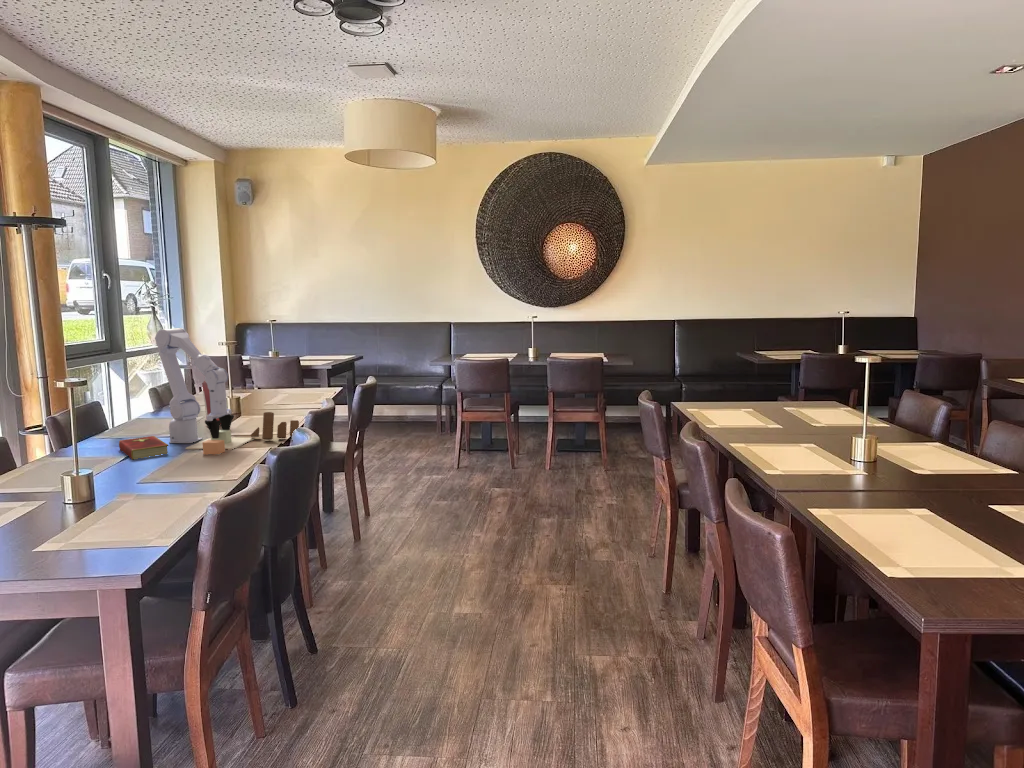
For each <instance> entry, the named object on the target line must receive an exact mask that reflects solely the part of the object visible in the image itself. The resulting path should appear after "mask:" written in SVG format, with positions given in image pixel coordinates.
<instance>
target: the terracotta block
mask: <svg viewBox="0 0 1024 768" xmlns="http://www.w3.org/2000/svg"><path fill="white" fill-rule="evenodd" d="M222 452H224V453H226V450H225V444H224V440H207V441H205V442H203V450H202V453H203V455H208V454H220V453H222ZM222 454H223V453H222ZM220 455H221V454H220Z"/></svg>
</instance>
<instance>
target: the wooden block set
mask: <svg viewBox="0 0 1024 768" xmlns="http://www.w3.org/2000/svg"><path fill="white" fill-rule="evenodd" d="M274 417H275V413H274V412H272V411H266V412H263V417H262V437H261V438H262V440H264V441H265V440H266V441H269V440H270V441H271V440H273V439H274V437H273V436H274V422H275V420H274ZM289 423H290V427H289V437H291V436H292V433H293V431H294V430H295V429H297V428H298V427H300V421H299V420H296V419H295V420H293V419H292V420H290V421H289ZM287 425H288V424H287V422H286V421H282V422H280V423H279V424H277V434H276V435H277V436H276V438H277V439H287ZM249 437H250V438H258V437H260V427H257V428H256V429H255V430H254V431H253V432H251V434H250V435H249Z"/></svg>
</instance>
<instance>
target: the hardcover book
mask: <svg viewBox="0 0 1024 768" xmlns="http://www.w3.org/2000/svg"><path fill="white" fill-rule="evenodd" d="M118 446H119V450H120V451H121V452H122V451H123V452H122V453H124V454H125V456H127V455H128V456H129V457H128V456H127V457H128V458H129V459H131V460H132V461H134V460H139V459H138V458H141V459H145V458H144V457H147V458H150V457H149V456H154V457H156V456H155V455H160V456H162V455H161V454H167V453H168V447H169V444H168V443H166V442H165V441H163V440H162V439H160V438H159V437H157V436H155V435H151V436H143V437H136V438H127V439H121V440H119V443H118ZM167 455H168V454H167ZM133 459H134V460H133Z"/></svg>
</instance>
